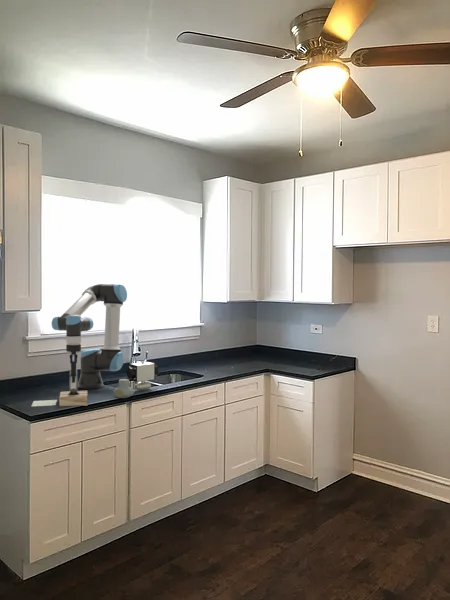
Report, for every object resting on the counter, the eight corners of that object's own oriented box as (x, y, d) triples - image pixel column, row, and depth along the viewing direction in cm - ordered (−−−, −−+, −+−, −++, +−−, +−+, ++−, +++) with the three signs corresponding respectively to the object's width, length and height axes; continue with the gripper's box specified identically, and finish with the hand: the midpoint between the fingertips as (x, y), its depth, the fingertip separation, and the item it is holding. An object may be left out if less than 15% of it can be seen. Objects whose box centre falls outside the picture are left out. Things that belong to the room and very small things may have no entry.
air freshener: (111, 397, 282) (111, 379, 282) (121, 394, 289) (121, 377, 289) (126, 399, 277) (126, 381, 276) (136, 396, 284) (136, 379, 283)
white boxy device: (151, 386, 311) (151, 358, 310) (158, 389, 304) (158, 360, 303) (125, 390, 299) (125, 361, 299) (132, 393, 293) (132, 363, 292)
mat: (33, 401, 270) (33, 401, 270) (57, 400, 273) (57, 399, 273) (31, 407, 259) (31, 406, 259) (55, 406, 262) (55, 405, 262)
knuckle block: (60, 400, 273) (60, 391, 273) (87, 399, 277) (87, 390, 277) (59, 407, 260) (59, 397, 259) (87, 405, 263) (87, 396, 263)
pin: (69, 395, 269) (69, 369, 269) (77, 395, 270) (77, 369, 270) (69, 397, 265) (69, 371, 265) (77, 397, 266) (77, 370, 266)
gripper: (66, 342, 274) (66, 384, 275) (65, 346, 258) (65, 391, 258) (81, 342, 276) (81, 384, 277) (80, 345, 260) (80, 390, 260)
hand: (73, 387), depth 268 cm, fingers closed on pin, 4 cm apart
